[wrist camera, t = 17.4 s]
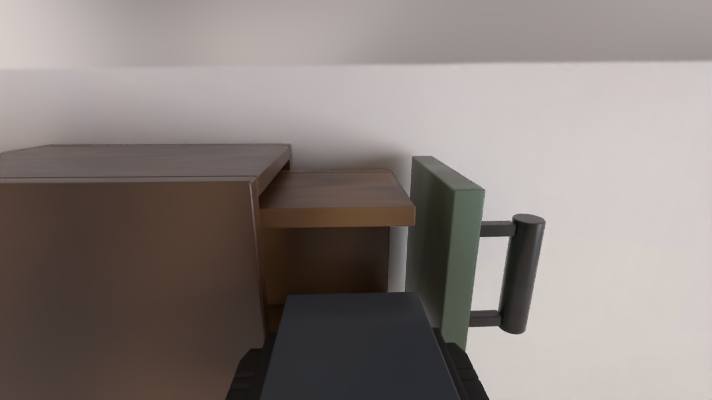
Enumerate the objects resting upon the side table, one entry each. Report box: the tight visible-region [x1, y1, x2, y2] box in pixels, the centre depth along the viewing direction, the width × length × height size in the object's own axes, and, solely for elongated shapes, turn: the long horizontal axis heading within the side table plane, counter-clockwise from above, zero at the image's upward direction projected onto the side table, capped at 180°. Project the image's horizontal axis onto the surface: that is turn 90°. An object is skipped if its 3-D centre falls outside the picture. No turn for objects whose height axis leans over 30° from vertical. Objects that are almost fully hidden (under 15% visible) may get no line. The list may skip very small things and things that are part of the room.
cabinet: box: [0, 144, 292, 400], centre depth 16 cm, size 14×12×9 cm
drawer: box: [258, 156, 546, 352], centre depth 17 cm, size 17×10×7 cm, turn 90°
